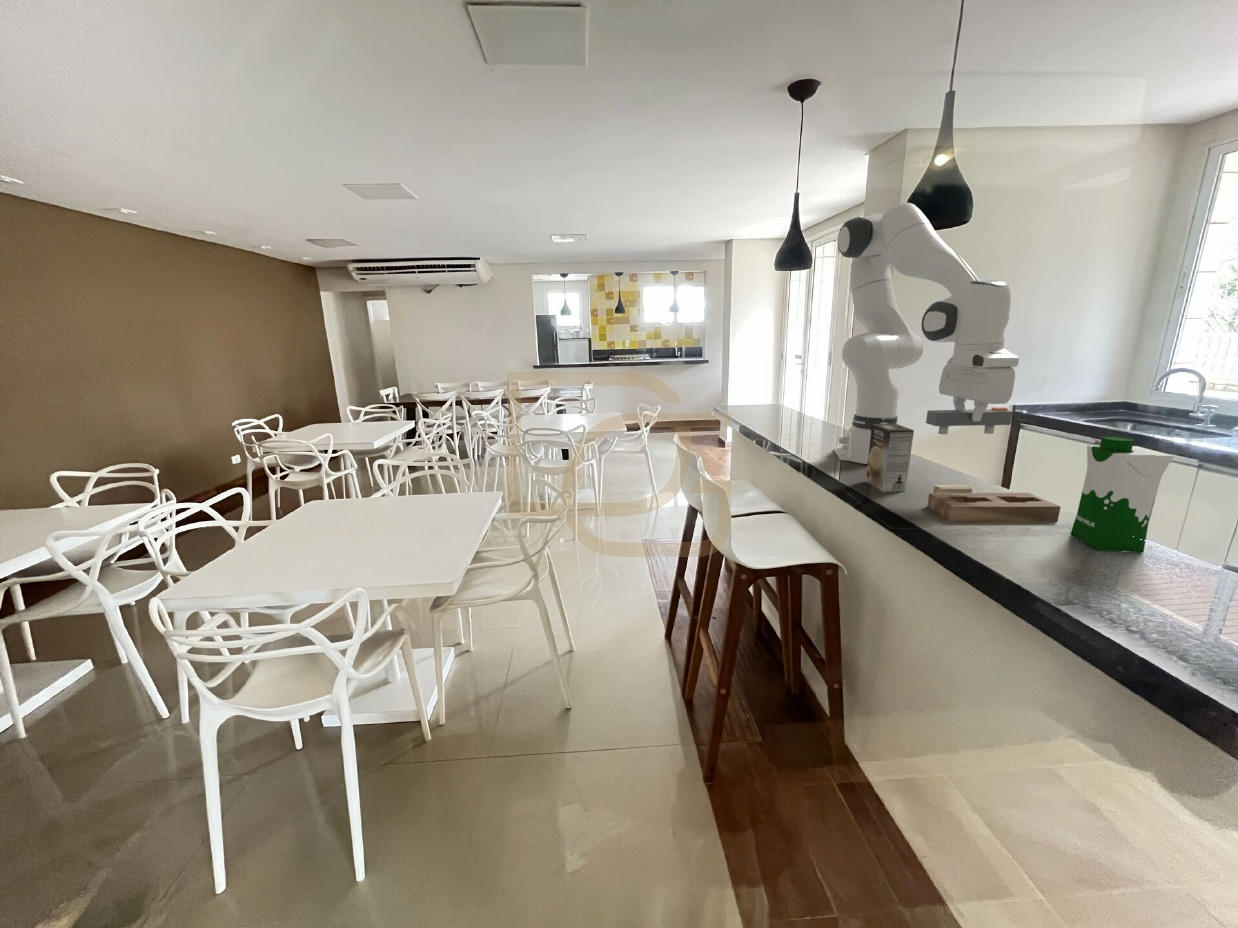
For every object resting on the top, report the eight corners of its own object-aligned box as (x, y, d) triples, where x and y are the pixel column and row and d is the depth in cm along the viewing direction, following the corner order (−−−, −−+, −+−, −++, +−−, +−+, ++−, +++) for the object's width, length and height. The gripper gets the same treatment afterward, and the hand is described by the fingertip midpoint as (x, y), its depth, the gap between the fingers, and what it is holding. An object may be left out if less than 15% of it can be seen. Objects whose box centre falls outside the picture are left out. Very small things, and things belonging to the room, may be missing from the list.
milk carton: (1061, 533, 94) (1083, 433, 88) (1115, 535, 92) (1142, 433, 87) (1094, 552, 85) (1121, 443, 80) (1155, 555, 83) (1186, 444, 78)
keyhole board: (927, 507, 109) (929, 493, 108) (1025, 507, 107) (1027, 492, 106) (950, 522, 100) (952, 506, 99) (1057, 522, 99) (1060, 506, 98)
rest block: (932, 494, 117) (934, 485, 117) (963, 494, 117) (964, 484, 116) (939, 498, 114) (941, 488, 114) (970, 498, 114) (972, 488, 113)
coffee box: (864, 482, 129) (870, 423, 125) (888, 481, 129) (895, 423, 124) (881, 492, 120) (888, 430, 116) (907, 492, 120) (915, 429, 116)
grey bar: (924, 432, 113) (927, 407, 111) (996, 431, 111) (1000, 406, 110) (934, 435, 109) (937, 410, 107) (1008, 434, 107) (1013, 409, 106)
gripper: (935, 356, 116) (928, 412, 119) (992, 359, 96) (981, 426, 100) (962, 355, 115) (954, 411, 119) (1025, 358, 96) (1013, 426, 99)
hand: (967, 418), depth 109 cm, fingers closed on grey bar, 4 cm apart
